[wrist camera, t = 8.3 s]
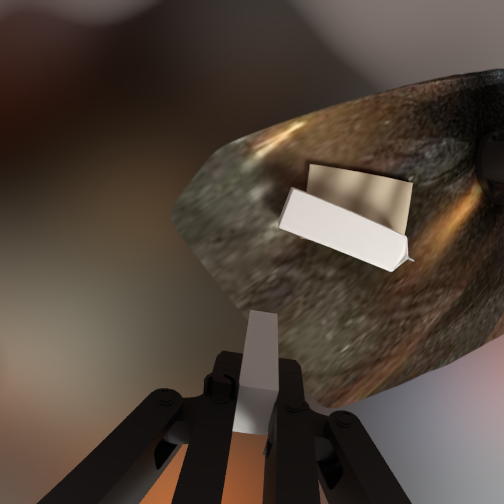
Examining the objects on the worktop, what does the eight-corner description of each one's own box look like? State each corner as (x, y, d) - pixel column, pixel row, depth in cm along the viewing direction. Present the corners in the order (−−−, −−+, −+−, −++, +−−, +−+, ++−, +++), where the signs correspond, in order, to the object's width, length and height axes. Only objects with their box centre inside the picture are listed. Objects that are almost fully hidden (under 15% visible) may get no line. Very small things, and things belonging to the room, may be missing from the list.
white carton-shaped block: (277, 220, 48) (393, 268, 49) (277, 227, 42) (406, 279, 43) (291, 185, 47) (407, 236, 47) (293, 187, 41) (423, 244, 41)
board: (409, 182, 46) (412, 183, 45) (398, 250, 49) (400, 251, 48) (309, 164, 47) (310, 164, 46) (300, 236, 50) (300, 238, 49)
